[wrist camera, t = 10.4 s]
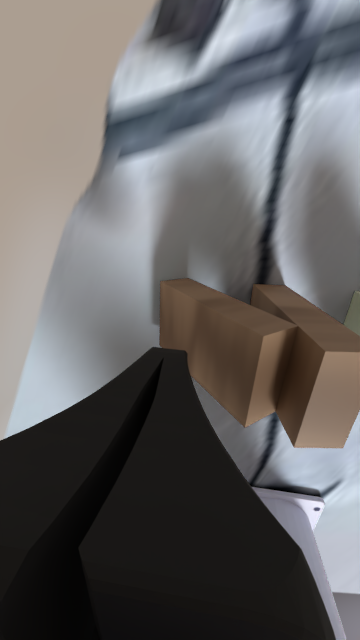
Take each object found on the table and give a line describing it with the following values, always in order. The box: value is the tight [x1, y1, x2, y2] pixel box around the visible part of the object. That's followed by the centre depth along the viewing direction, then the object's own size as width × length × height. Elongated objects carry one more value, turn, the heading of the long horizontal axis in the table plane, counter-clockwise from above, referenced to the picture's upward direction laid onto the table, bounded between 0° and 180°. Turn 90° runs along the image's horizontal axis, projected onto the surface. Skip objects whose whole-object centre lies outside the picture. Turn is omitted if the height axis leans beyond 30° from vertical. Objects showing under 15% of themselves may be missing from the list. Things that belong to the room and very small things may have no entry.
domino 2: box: [250, 284, 360, 448], centre depth 11 cm, size 4×2×7 cm, turn 178°
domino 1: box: [160, 278, 298, 427], centre depth 12 cm, size 4×2×7 cm
